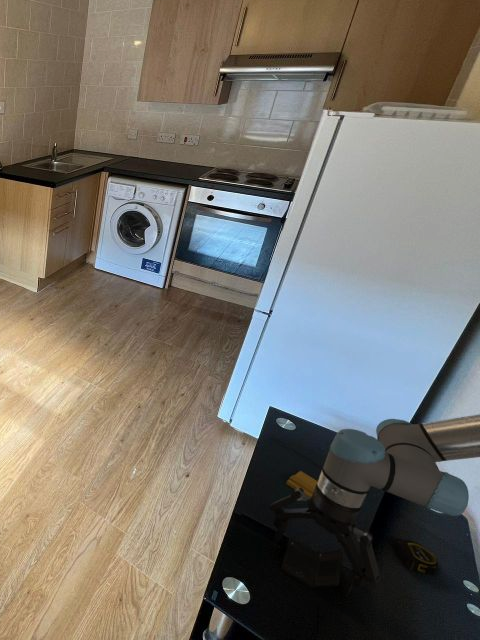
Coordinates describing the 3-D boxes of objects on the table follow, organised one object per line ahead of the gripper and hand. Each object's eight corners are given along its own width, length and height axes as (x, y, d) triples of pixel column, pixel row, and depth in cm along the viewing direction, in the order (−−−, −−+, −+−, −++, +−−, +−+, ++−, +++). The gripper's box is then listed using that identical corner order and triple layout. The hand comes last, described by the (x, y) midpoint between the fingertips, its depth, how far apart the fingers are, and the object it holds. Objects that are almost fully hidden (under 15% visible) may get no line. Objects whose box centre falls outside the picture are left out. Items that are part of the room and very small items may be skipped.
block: (340, 499, 114) (342, 494, 113) (327, 511, 110) (329, 506, 110) (299, 473, 122) (301, 468, 122) (286, 483, 119) (287, 478, 118)
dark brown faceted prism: (280, 530, 103) (320, 524, 96) (303, 554, 101) (346, 551, 94) (278, 571, 94) (322, 569, 88) (303, 599, 93) (350, 598, 86)
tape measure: (386, 544, 102) (391, 533, 100) (422, 554, 99) (427, 543, 98) (403, 571, 95) (409, 559, 94) (441, 582, 93) (447, 571, 92)
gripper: (267, 460, 97) (245, 526, 104) (411, 553, 76) (372, 628, 83) (282, 450, 101) (261, 514, 107) (424, 536, 80) (387, 608, 86)
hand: (309, 563), depth 95 cm, fingers open, 13 cm apart
